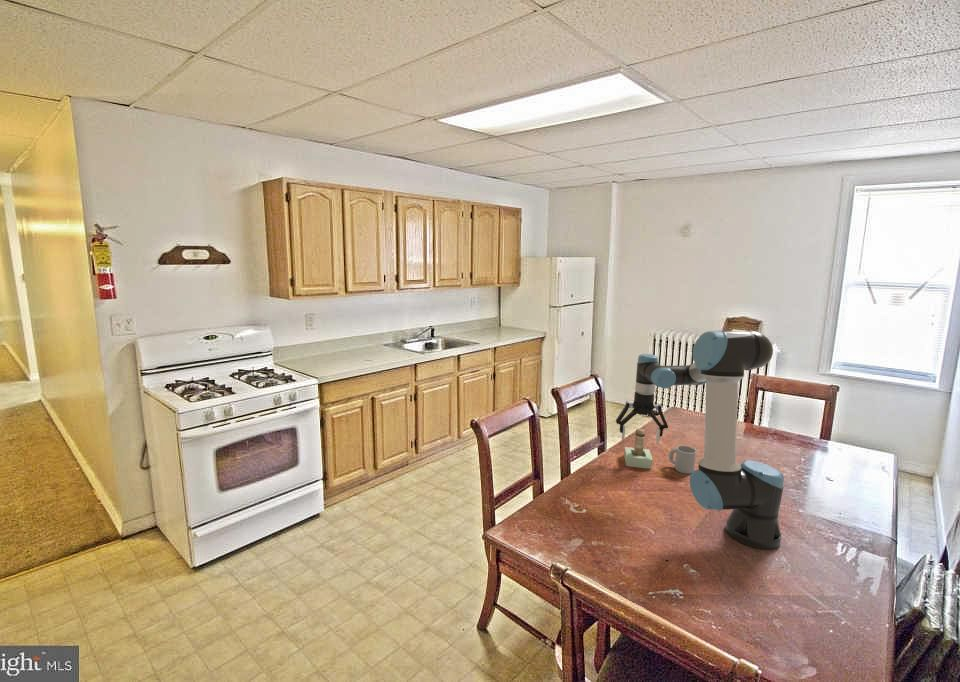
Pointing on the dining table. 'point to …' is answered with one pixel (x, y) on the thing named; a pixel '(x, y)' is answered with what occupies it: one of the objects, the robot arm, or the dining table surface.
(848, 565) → the dining table surface
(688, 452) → the cup
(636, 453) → the striped wooden dowel
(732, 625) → the dining table surface
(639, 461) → the square block with hole
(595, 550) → the dining table surface
